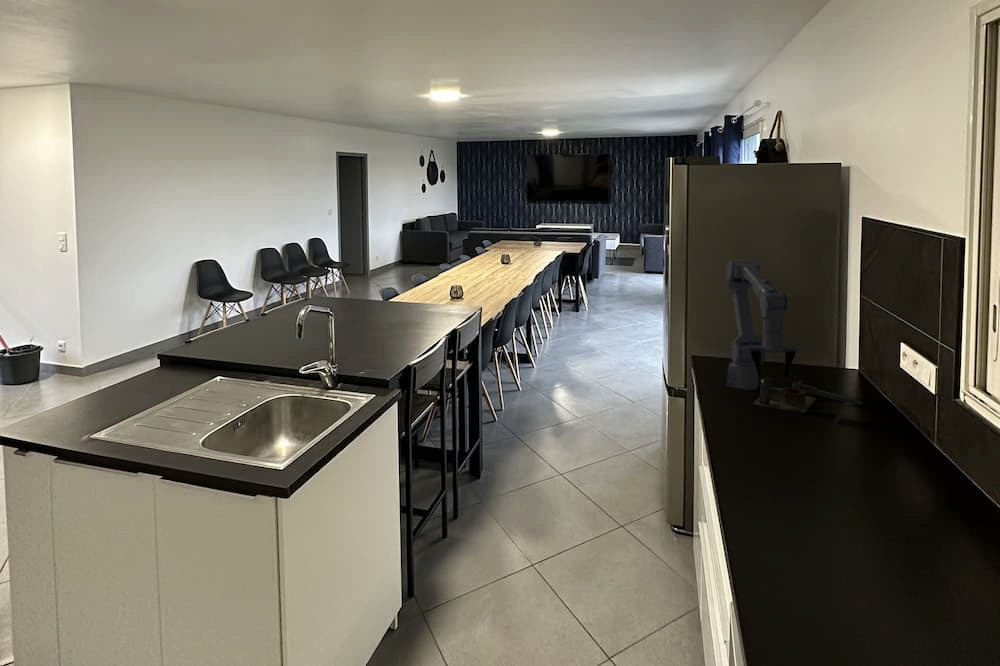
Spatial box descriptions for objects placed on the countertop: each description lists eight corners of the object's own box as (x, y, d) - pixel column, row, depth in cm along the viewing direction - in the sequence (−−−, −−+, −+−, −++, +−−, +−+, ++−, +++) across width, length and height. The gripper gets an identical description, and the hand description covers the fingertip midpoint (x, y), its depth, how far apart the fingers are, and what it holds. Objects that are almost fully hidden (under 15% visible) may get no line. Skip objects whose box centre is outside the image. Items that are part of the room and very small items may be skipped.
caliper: (790, 399, 207) (792, 380, 205) (790, 398, 208) (791, 379, 206) (862, 405, 199) (864, 385, 198) (862, 404, 200) (864, 384, 199)
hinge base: (752, 406, 201) (753, 391, 200) (767, 392, 215) (768, 378, 213) (804, 415, 192) (805, 399, 191) (816, 401, 206) (817, 385, 205)
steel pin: (758, 404, 201) (759, 379, 199) (760, 401, 203) (762, 377, 201) (768, 405, 199) (770, 380, 197) (770, 403, 201) (772, 378, 199)
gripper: (746, 332, 198) (745, 376, 198) (798, 332, 191) (797, 378, 191) (749, 330, 204) (749, 373, 205) (799, 331, 197) (799, 375, 198)
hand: (772, 376), depth 198 cm, fingers open, 7 cm apart
